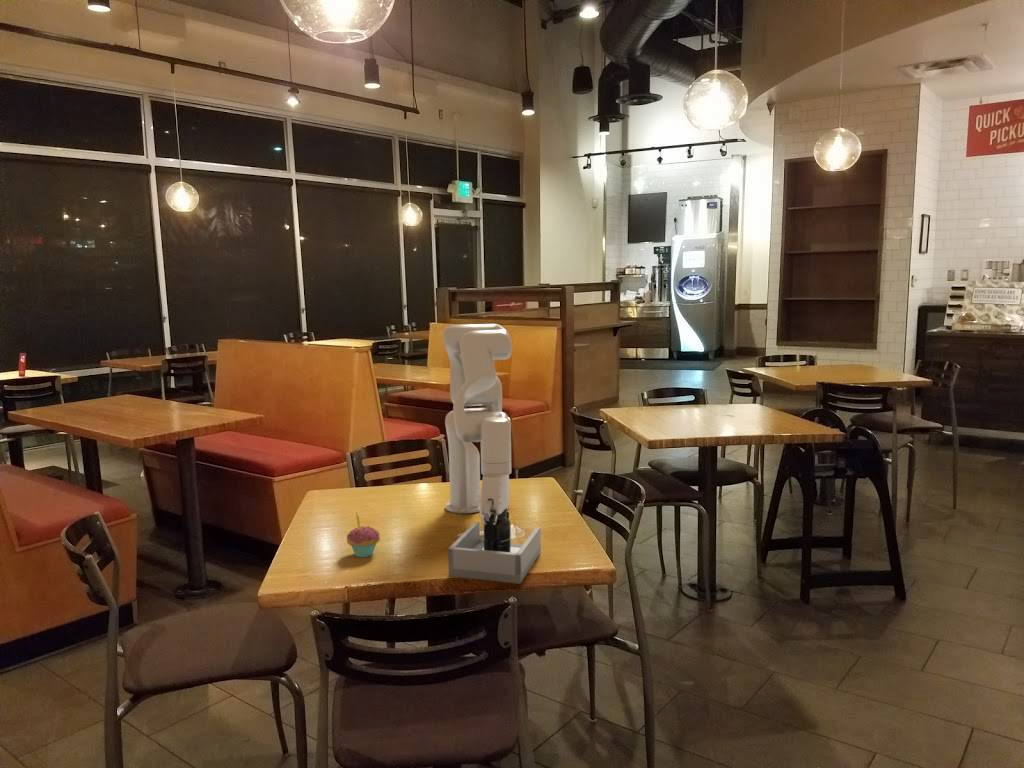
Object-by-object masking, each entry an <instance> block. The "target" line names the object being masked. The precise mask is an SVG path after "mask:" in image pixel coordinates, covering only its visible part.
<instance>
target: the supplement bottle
mask: <svg viewBox="0 0 1024 768" xmlns="http://www.w3.org/2000/svg"><path fill="white" fill-rule="evenodd" d="M491 512H496V511H491ZM506 516H507V508H506V509H505V510H504V511H503V512H502V513H501V514H500V515H498V517H497V522H496V524H498V539H497V540H496V541H494V540H486V539H485V524H484V531H483V540H484V550H489V551H500V552H511V543H512V540H511V539H512V538H511V534H512V533H511V529H512V528H511V526H512V525H511V523H512V522H511V520H510V518H509V519H508V518H507V517H506ZM492 518H493V519H494V516H492Z"/></svg>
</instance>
